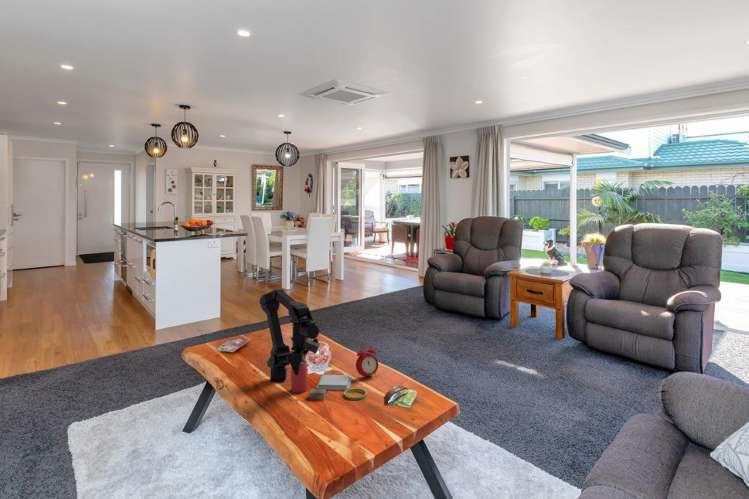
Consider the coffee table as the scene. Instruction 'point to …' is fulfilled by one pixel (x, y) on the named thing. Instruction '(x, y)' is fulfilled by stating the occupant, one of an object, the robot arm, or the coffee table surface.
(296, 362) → the robot arm
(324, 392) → the metal block
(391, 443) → the coffee table surface
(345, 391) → the olive green ring
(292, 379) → the beer can
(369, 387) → the coffee table surface
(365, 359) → the alarm clock
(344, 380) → the stand
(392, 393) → the wallet with cash
